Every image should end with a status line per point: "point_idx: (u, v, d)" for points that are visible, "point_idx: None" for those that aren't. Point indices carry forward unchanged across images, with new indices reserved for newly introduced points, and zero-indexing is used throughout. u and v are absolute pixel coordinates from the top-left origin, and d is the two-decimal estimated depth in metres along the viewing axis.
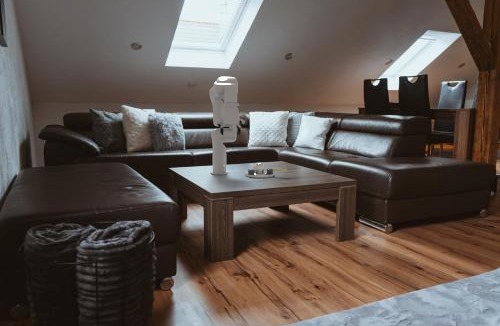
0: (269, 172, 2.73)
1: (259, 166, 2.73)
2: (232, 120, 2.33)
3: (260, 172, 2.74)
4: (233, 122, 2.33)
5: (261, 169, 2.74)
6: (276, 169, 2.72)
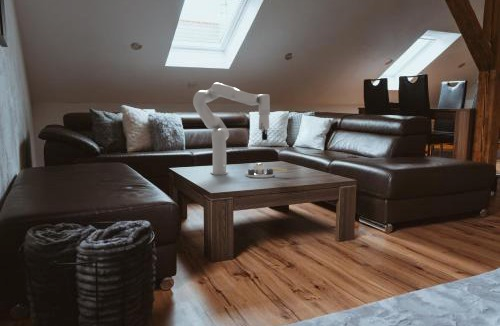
0: (269, 172, 2.73)
1: (259, 166, 2.73)
2: (267, 125, 2.73)
3: (260, 172, 2.74)
4: (268, 127, 2.73)
5: (261, 169, 2.74)
6: (276, 169, 2.72)
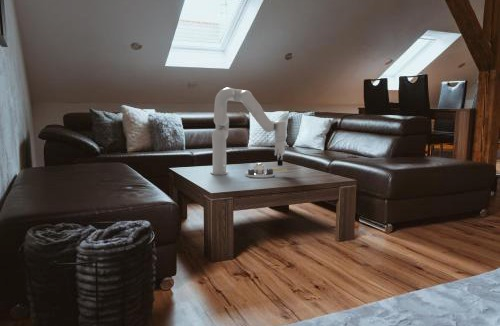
0: (269, 172, 2.73)
1: (259, 166, 2.73)
2: (283, 151, 2.77)
3: (260, 172, 2.74)
4: (283, 153, 2.78)
5: (261, 169, 2.74)
6: (276, 169, 2.72)
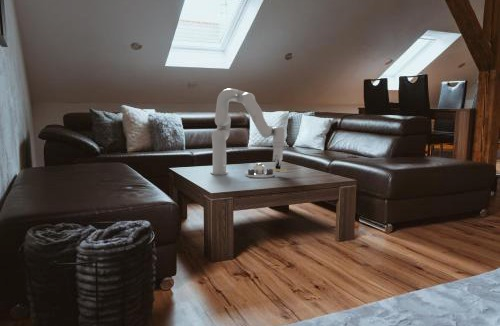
0: (269, 172, 2.73)
1: (259, 166, 2.73)
2: (281, 157, 2.74)
3: (260, 172, 2.74)
4: (281, 158, 2.75)
5: (261, 169, 2.74)
6: (276, 169, 2.72)
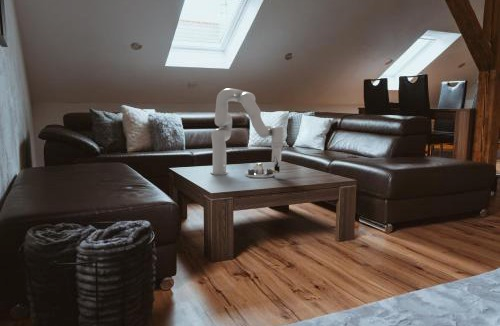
0: (267, 172, 2.74)
1: (259, 166, 2.73)
2: (280, 157, 2.69)
3: (260, 172, 2.74)
4: (280, 159, 2.69)
5: (261, 169, 2.74)
6: (271, 170, 2.70)
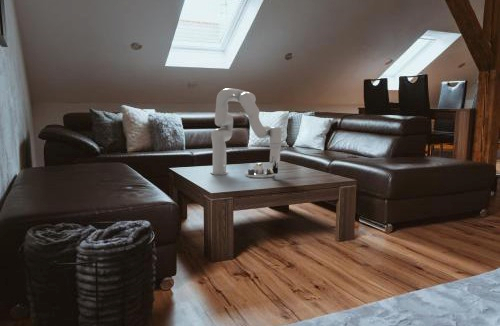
0: None
1: (259, 166, 2.73)
2: (278, 158, 2.65)
3: (260, 172, 2.74)
4: (279, 160, 2.65)
5: (261, 169, 2.74)
6: (269, 170, 2.70)
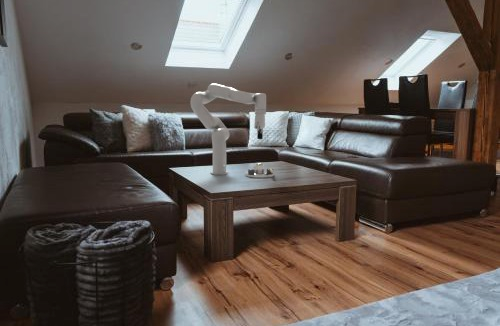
0: None
1: (259, 166, 2.73)
2: (263, 124, 2.72)
3: (260, 172, 2.74)
4: (263, 126, 2.73)
5: (261, 169, 2.74)
6: (269, 170, 2.70)
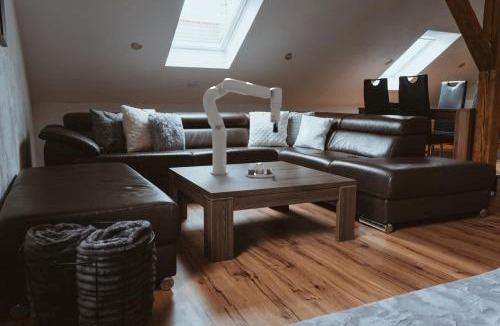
0: None
1: (259, 166, 2.73)
2: (279, 118, 2.78)
3: (260, 172, 2.74)
4: (279, 120, 2.79)
5: (261, 169, 2.74)
6: (269, 170, 2.70)
